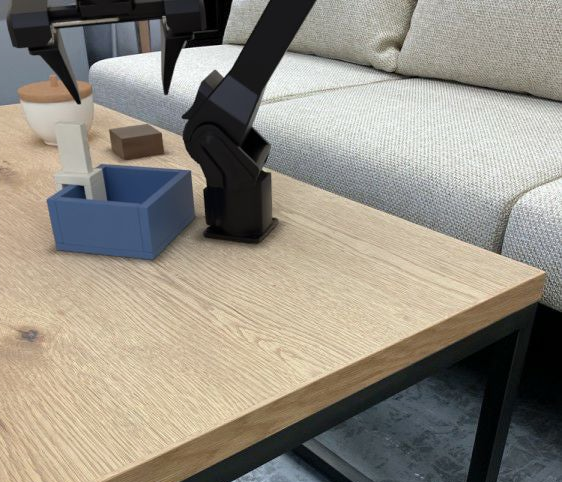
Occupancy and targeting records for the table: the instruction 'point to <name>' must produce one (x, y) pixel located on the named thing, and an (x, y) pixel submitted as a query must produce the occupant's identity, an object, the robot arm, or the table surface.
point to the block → (136, 141)
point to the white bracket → (77, 161)
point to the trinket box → (54, 107)
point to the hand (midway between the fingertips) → (122, 98)
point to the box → (124, 212)
